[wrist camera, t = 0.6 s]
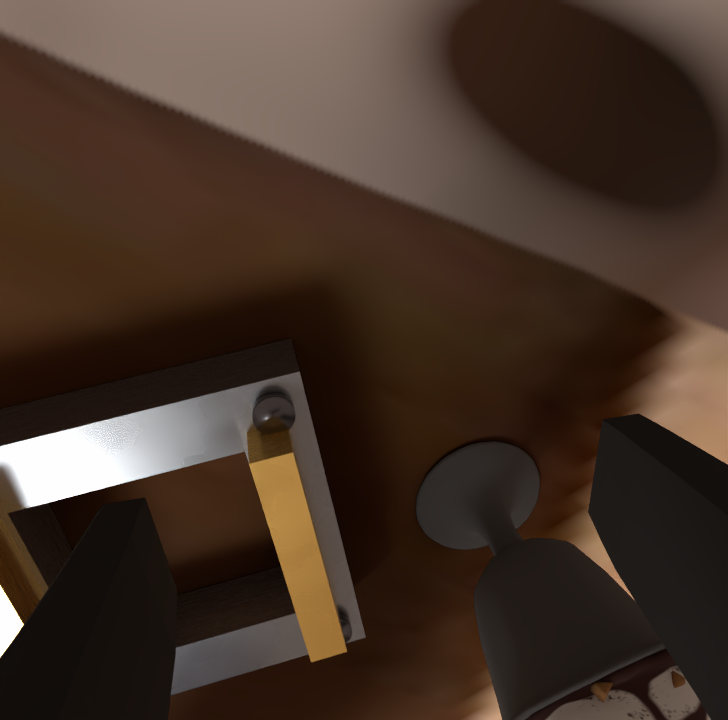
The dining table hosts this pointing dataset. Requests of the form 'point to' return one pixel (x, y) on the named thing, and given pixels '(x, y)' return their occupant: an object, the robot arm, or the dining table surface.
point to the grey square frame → (173, 451)
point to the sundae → (547, 603)
